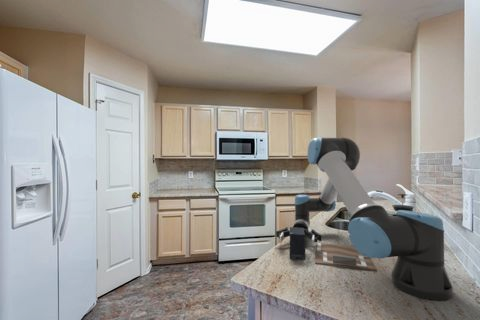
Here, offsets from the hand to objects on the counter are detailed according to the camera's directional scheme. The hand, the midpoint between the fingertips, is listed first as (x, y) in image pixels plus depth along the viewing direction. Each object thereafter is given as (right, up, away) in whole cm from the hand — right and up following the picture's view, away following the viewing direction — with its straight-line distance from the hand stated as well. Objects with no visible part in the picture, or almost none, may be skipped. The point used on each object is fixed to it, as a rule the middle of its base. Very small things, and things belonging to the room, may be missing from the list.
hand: (296, 241), depth 101 cm
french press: (+58, -6, +17) cm, 61 cm away
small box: (0, -6, 0) cm, 6 cm away
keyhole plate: (+19, -6, -1) cm, 20 cm away
